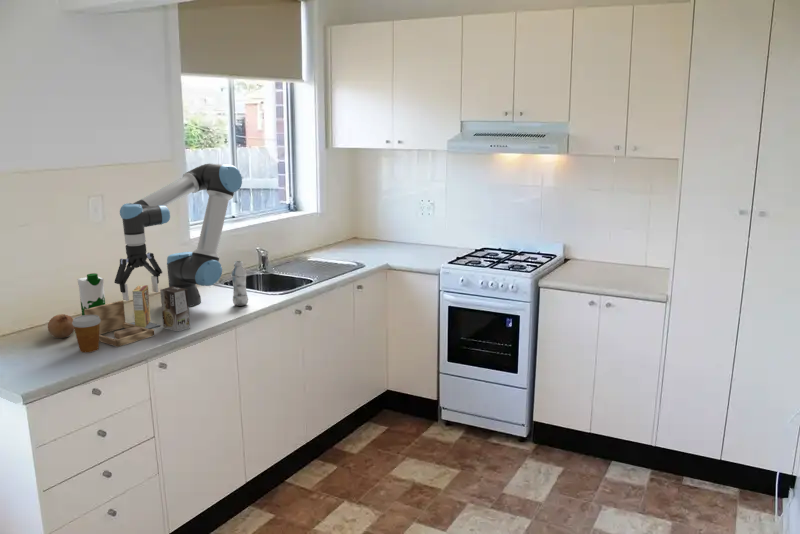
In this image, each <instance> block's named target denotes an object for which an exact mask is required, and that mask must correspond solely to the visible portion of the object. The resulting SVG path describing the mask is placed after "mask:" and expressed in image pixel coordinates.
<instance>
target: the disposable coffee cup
mask: <svg viewBox="0 0 800 534" xmlns="http://www.w3.org/2000/svg"><path fill="white" fill-rule="evenodd" d="M72 319H73V322H72V325H73V326H74V332H75V337H76V339H77V344H78V349H79V351H80V352H81V353H94V352H95V351H98V350H99V348H100V341H99V329H100V321H101V319H100V318H99V316H98V315H83V316H82V315H79V316H76V317H74V318H72Z"/></svg>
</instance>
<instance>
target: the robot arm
mask: <svg viewBox="0 0 800 534" xmlns="http://www.w3.org/2000/svg"><path fill="white" fill-rule="evenodd" d="M242 184H243V176H242V174H241V173H240V170H239V169H238V168H237V167H236V166H235V165H233V164H226V163H224V164H223V163H222V164H221V163H204V164H201V165H199V166H197V167H195V168H194V167H193V168H192V169H190V170H189V171H187V172H185V173H183V175H182V177H180V178H179V179H177V180H175V181H173V182H170V183H169V184H167V185H165V186H163V187H162V188H159V189H158V190H156V191H154V192H153V193H150V194H149V195H147V196H144V197H143V198H141V199H139V200H137V201H135V202H133V203H131V202H129V203H128V202H127V203H124V204H122V206H120V208H119V215H120V218H121V219H122V227H123V236H124V244H125V253H126V258H120V259H119V267H118V269H117V272H116V276H115V279H114V283H115V284H117V285H119V289H120V292H121V293H122V301H129V300H130V298H129V297H130V296H129V287H128V284H127V282H128V279H129V278H130V276H131V274H132V272H133V271H134V270H135V269H137V268H139V267H140V268H141V267H144V268H145V269H146V270H147V271H148V272H149V273H150V274H151V276H150V279H151V290H152V292H153V293H159V285H158V284H159V282H160V280H159V277H160V276H161V274H163V271H162V269H161V267H160V266H159V263H158V262H157V260H156V259H155V255H154V253H152V252H147V244H146V242H147V241H146V235H145V234H146V233H145V228H147V227H154V226H159V225H161V226H162V225H163V224H167V223H168V222H169V221H170V219H171V211H170V209H169V208H168V206H169V205H172V204H174V203H175V202H177V201H178V200H180V199H182V198H184V197H186V196H187V195H189V194H191V193H193V194H195V193H198V192H200V191H204V190H206V193H207V194H208V199H207V204H206V207H205V213H204V218H203V221H202V224H201V225H202V226H201V230H200V234H199V240H198V243H197V247H196V249H195V250H193V251H183V252H175V253H172V254H169V255H168V256H166V257H167V258H166V267H167V278H168V279H167V280H168V287H172V286H174V287H179V288H184V289H187V295H188V308H189V307H194V306H197V305H199V304H200V303H202V297H201V293H200V292H199V289H198V287H197V285H199V286H201V287H202V286H203V287H210V286H213V285H215V284H216V283H217V282H218V281H219V280H220V279H221V277H222V273H223V267H222V264H221V263H220V256H219V254H218V251H219V245H220V242H221V236H222V232H223V228H224V223H225V218H226V215H227V210H228V207H229V206H228V205H229V201H230V200H232V199H233V198H234V195H235V193H236V192H238V191H239V190H240V189H241V187H242ZM147 260H148V261H149V262H150V264H149V262H148V261H147Z"/></svg>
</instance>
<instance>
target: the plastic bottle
mask: <svg viewBox="0 0 800 534" xmlns="http://www.w3.org/2000/svg"><path fill="white" fill-rule="evenodd" d="M231 280H232V286H233V287H232V288H233V295H232V303H233V304H234V305H235V306H237V307H242V306H246V305H247V304H248V302H249V297H248V293H247V292H248V291H247V270H246V269H245V268H244V263H243V261H242V260H241V261H240V260H236V261H234V262H233V268H232V270H231Z"/></svg>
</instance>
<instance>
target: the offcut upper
mask: <svg viewBox="0 0 800 534" xmlns="http://www.w3.org/2000/svg"><path fill="white" fill-rule="evenodd" d="M140 332H142V328H139V327H137V326H135V327H131V328H127V329H126V328H123V329H121V330H120V329H119V330H115V331H113V335H114V336H113V337H114V338H117V339H120V338H123V337H126V336H130V335H133V334H136V333H140ZM114 338H113V339H114Z"/></svg>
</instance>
